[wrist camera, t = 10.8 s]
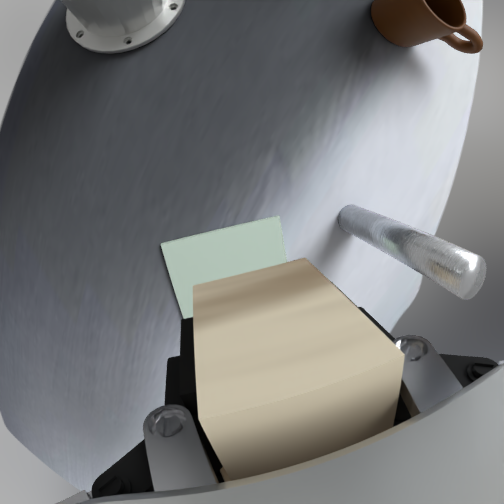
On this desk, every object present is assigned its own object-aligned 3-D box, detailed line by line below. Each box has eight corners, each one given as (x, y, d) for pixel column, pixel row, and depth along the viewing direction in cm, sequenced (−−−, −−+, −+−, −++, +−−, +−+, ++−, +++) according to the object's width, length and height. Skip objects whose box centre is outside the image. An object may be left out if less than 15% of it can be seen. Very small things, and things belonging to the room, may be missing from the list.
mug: (444, 40, 28) (493, 28, 19) (434, 80, 29) (488, 72, 21) (376, -13, 25) (419, -42, 16) (361, 25, 26) (409, -4, 17)
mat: (161, 243, 30) (160, 244, 29) (278, 215, 31) (279, 216, 31) (197, 356, 34) (197, 358, 34) (296, 330, 36) (297, 332, 35)
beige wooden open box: (124, 301, 10) (78, 433, 4) (366, 241, 11) (485, 312, 6) (226, 497, 15) (241, 573, 9) (359, 458, 16) (397, 524, 10)
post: (336, 207, 32) (460, 262, 15) (360, 202, 32) (488, 251, 16) (339, 234, 33) (455, 306, 16) (363, 228, 33) (483, 291, 17)
